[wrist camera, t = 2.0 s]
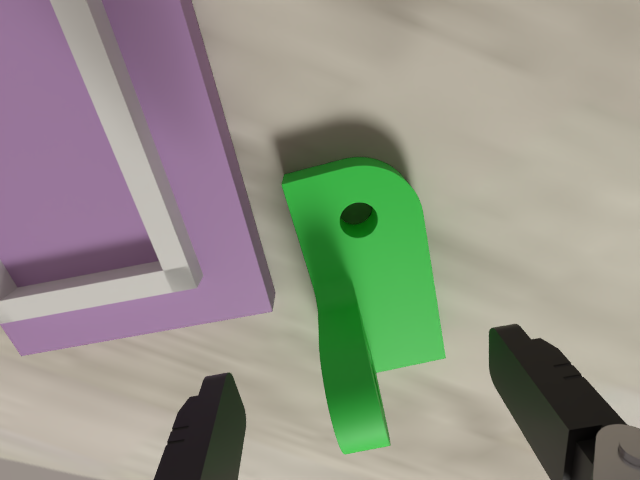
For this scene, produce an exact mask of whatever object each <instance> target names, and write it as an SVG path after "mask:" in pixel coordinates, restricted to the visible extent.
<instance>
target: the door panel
mask: <svg viewBox="0 0 640 480" xmlns="http://www.w3.org/2000/svg"><path fill="white" fill-rule="evenodd" d="M274 298H275V290H274V287H273V283H272V280H271V276H270V273H269V269H268V266H267V262H266V259H265V255H264V252H263V248H262V245H261V241H260V238H259V234H258V231H257V227H256V224H255V220H254V217H253V213H252V210H251V206H250V203H249V200H248V196H247V193H246V189H245V186H244V182H243V179H242V175H241V172H240V168H239V165H238V161H237V158H236V154H235V151H234V147H233V144H232V140H231V137H230V133H229V130H228V126H227V123H226V119H225V116H224V112H223V109H222V105H221V102H220V98H219V95H218V92H217V88H216V85H215V81H214V78H213V74H212V71H211V67H210V64H209V60H208V57H207V53H206V50H205V46H204V43H203V39H202V36H201V32H200V29H199V25H198V22H197V18H196V15H195V11H194V8H193V4H192V1H191V0H0V325H1V327H2V328H3V330H4V331H5V333H6V334H7V336H8V337H9V339H10V340H11V341H12V343H13V344H14V346H15V347H16V349H17V350H18V352H19V353H20V355H21V356H24V355H29V354H35V353H41V352H46V351H52V350H58V349H63V348H69V347H75V346H80V345H86V344H92V343H97V342H103V341H109V340H114V339H120V338H126V337H131V336H137V335H143V334H148V333H154V332H160V331H165V330H171V329H177V328H182V327H188V326H194V325H199V324H205V323H211V322H216V321H222V320H228V319H233V318H239V317H245V316H250V315H256V314H262V313H267V312H272V311H273V305H274Z"/></svg>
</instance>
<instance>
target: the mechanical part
mask: <svg viewBox="0 0 640 480" xmlns="http://www.w3.org/2000/svg"><path fill="white" fill-rule="evenodd" d="M282 188H283V191H284V194H285V198H286V201H287V204H288V207H289V210H290V214H291V217H292V220H293V223H294V227H295V230H296V233H297V236H298V240H299V243H300V246H301V249H302V252H303V256H304V259H305V262H306V265H307V269H308V272H309V275H310V278H311V282H312V285H313V288H314V292H315V297H316V302H317V308H318V324H319V351H320V362H321V369H322V376H323V382H324V388H325V394H326V399H327V404H328V408H329V413H330V417H331V421H332V425H333V428H334V432H335V435H336V438H337V441H338V444H339V447H340V449H341V451H342V452H343V454H350V453H355V452H360V451H365V450H370V449H376V448H381V447H386V446H390V438H389V433H388V428H387V423H386V418H385V413H384V408H383V404H382V399H381V394H380V389H379V385H378V380H377V375H376V373H378V372H382V371H387V370H392V369H397V368H401V367H406V366H411V365H416V364H420V363H425V362H430V361H435V360H439V359H444V358H446V357H445V350H444V344H443V338H442V331H441V325H440V318H439V312H438V305H437V299H436V292H435V286H434V280H433V273H432V267H431V260H430V254H429V247H428V241H427V234H426V228H425V222H424V215H423V210H422V206H421V203H420V200H419V198H418V196H417V194H416V193H415V191H414V190H413V188H412V187H411V186H410V185H409V184H408V182H407V181H406V180H405V179H404V178H403V176H402V175H401V174H400V173H399V172H398V171H397V170H395V169H394V168H393V167H391V166H390V165H388V164H386V163H384V162H382V161H379V160H376V159H372V158H366V157H352V158H346V159H342V160H338V161H334V162H330V163H326V164H323V165H319V166H315V167H311V168H307V169H303V170H300V171H296V172H292V173H288V174H284V177H283V181H282ZM358 202H361V203H366V204H368V205H370V206H372V212H371V214H370V216H369V217H368V219H367V220H365V221H364V222H362V223H359V224H349V223H346V222H345V221H343V220H342V219H341V218H340V216H341V213H342V212H343V210H344V209H345V208H346V207H347V206H349V205H351V204H353V203H358Z"/></svg>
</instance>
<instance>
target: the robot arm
mask: <svg viewBox="0 0 640 480" xmlns="http://www.w3.org/2000/svg"><path fill="white" fill-rule="evenodd" d="M489 370H490V375H491V378H492V381H493V384H494V386H495V388H496V389H497V391H498V393H499V394H500V396H501V398H502V399H503V401H504V403H505V404H506V406H507V408H508V409H509V411H510V413H511V414H512V416H513V418H514V419H515V421H516V423H517V424H518V426H519V428H520V429H521V431H522V433H523V434H524V436H525V438H526V439H527V441H528V443H529V444H530V446H531V448H532V449H533V451H534V453H535V454H536V456H537V458H538V459H539V461H540V463H541V464H542V466H543V468H544V469H545V471H546V473H547V474H548V476H549V478H550V479H551V480H640V429H639V428H636V427H633V426H629V425H627V424H626V423H625V422H624V421H623V420H622V419H621V418H620V416H619V415H618V414H617V413H616V412H615V411H614V410H613V409H612V408H611V407H610V405H609V404H608V403H607V402H606V401H605V400H604V399H603V398H602V397H601V395H600V394H599V393H598V392H597V391H596V390H595V389H594V388H593V387H592V386H591V384H590V383H589V382H588V381H587V380H586V379H585V378H584V377H582V376H581V373H580V372H579V371H578V370H577V369H576V368H575V367H574V366H573V365H571V362H570V361H569V360H568V359H567V358H566V357H565V356H564V355H563V353H562V352H561V351H560V350H559V349H558V348H556V347H554V346H553V345H551V344H549V343H548V342H546V341H544V340H543V339H541V338H538V339H532V340H531V339H530V338H529V336H528V335H527V334H526V333H525V332H524V330H523V329H522V328H521V327H520V326H519V325H518V324H512V325H506V326H500V327H495V328H491V329H490V331H489ZM245 430H246V414H245V409H244V405H243V403H242V400H241V397H240V395H239V392H238V389H237V386H236V384H235V381H234V378H233V376H232V374H231V373H223V374H218V375H212V376H206V377H205V378H204V380H203V383H202V386H201V389H200V392H199V395H198V396H193V397H189V399H188V400H187V401H186V403H185V404H184V405H183V406H182V408H181V409H180V410H179V412H178V414H177V417H176V419H175V422H174V425H173V428H172V432H171V433H170V436H169V439H168V441H167V442H168V445H166V447H165V450H164V453H163V455H162V458H161V461H160V464H159V466H158V469H157V472H156V475H155V478H154V480H238V474H239V468H240V461H241V455H242V449H243V442H244V436H245Z"/></svg>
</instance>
